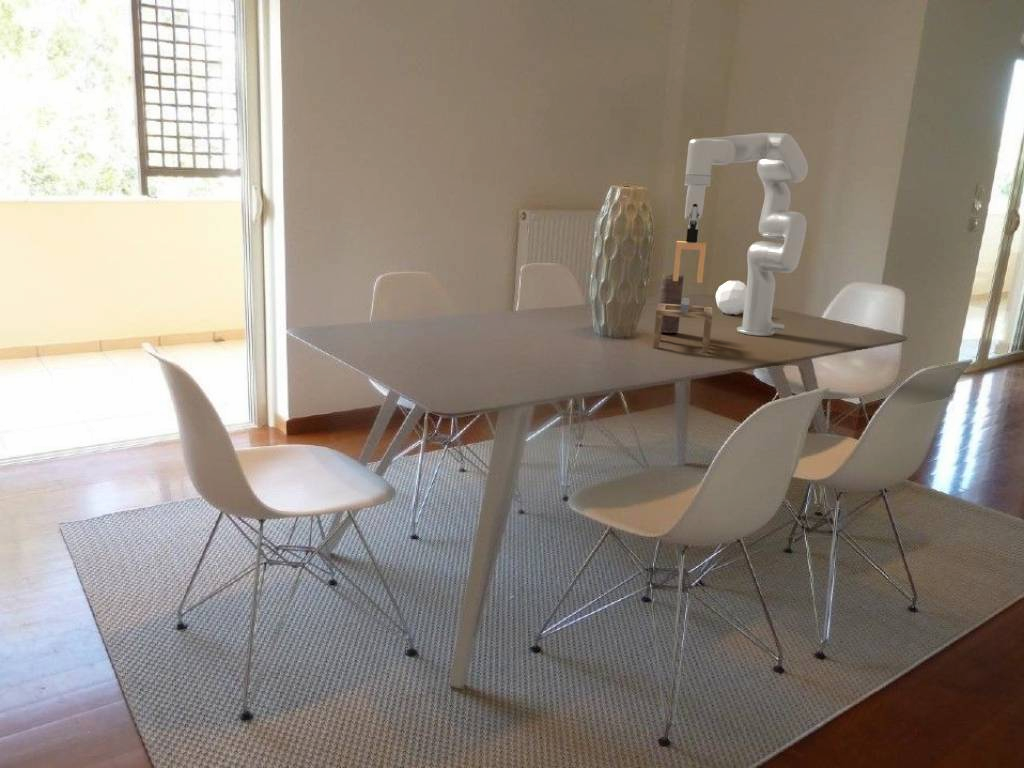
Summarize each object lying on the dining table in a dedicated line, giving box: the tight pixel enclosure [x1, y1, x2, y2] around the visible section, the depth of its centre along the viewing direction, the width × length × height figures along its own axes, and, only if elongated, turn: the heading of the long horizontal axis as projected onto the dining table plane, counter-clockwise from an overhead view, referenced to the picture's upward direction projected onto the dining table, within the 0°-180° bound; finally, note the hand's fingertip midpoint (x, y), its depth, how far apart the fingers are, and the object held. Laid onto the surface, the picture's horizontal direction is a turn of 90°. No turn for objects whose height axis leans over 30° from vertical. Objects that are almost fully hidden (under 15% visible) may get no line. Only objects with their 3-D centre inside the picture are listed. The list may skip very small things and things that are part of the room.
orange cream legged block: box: [672, 224, 707, 284], centre depth 271 cm, size 9×5×17 cm, turn 78°
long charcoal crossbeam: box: [680, 297, 691, 313], centre depth 275 cm, size 2×14×2 cm, turn 168°
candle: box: [659, 274, 684, 334], centre depth 295 cm, size 8×7×20 cm
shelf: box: [652, 303, 714, 354], centre depth 277 cm, size 17×14×12 cm
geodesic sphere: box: [715, 279, 747, 316], centre depth 340 cm, size 14×14×14 cm
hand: (691, 241), depth 270 cm, fingers closed on orange cream legged block, 4 cm apart
